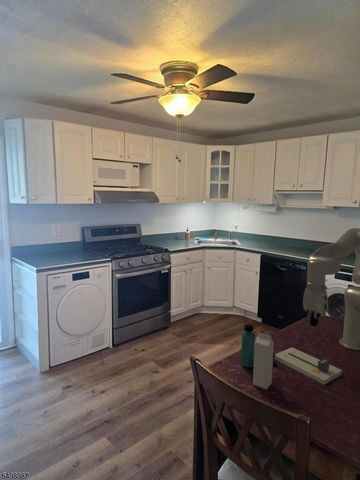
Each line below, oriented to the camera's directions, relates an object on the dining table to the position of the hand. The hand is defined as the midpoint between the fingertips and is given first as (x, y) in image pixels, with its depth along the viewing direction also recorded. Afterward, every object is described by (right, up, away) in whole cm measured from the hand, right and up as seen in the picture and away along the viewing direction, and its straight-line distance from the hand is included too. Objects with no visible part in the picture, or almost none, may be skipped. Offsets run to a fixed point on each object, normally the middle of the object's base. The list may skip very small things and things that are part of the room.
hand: (313, 325), depth 144 cm
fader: (+2, -18, -5) cm, 19 cm away
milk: (-27, -22, -12) cm, 36 cm away
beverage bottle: (-30, -20, +1) cm, 36 cm away
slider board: (-3, -20, +2) cm, 20 cm away
